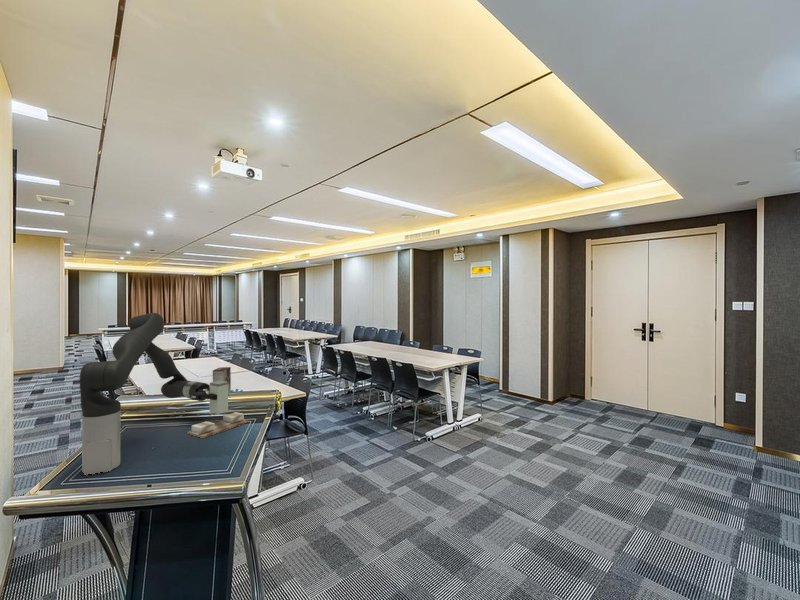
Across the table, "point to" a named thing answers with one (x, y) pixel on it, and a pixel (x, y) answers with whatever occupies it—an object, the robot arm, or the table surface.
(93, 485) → the table surface
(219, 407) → the block
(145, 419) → the table surface
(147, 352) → the robot arm
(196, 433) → the rail board
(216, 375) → the coffee box
